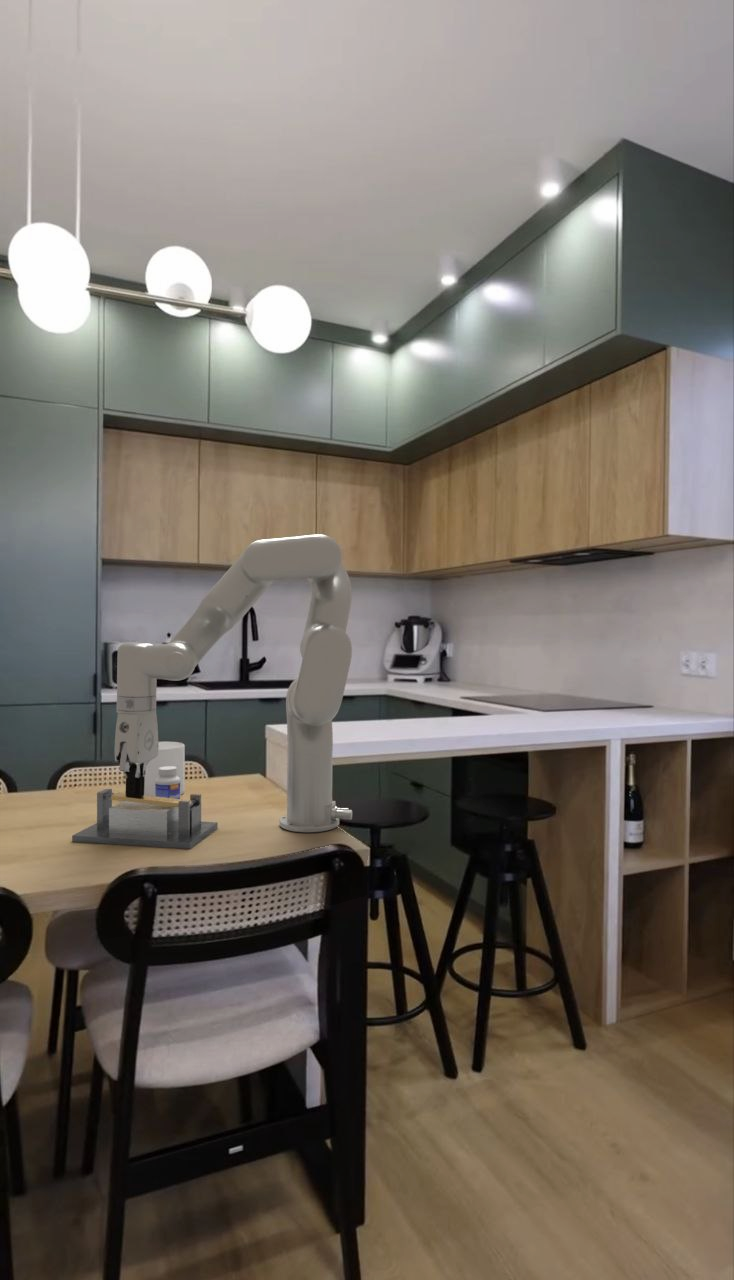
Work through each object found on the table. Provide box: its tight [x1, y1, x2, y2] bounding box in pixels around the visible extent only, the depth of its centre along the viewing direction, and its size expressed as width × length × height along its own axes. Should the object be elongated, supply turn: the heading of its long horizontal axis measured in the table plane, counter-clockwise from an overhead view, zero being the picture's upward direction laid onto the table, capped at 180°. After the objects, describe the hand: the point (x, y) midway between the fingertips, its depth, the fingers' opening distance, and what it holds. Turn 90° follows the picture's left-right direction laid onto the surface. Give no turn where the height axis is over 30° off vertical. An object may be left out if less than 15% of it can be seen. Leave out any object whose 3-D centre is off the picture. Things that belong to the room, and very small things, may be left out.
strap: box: [111, 791, 196, 807], centre depth 143 cm, size 16×4×1 cm, turn 81°
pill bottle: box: [155, 766, 181, 799], centre depth 161 cm, size 5×5×10 cm
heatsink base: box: [71, 788, 219, 850], centre depth 143 cm, size 24×14×8 cm, turn 81°
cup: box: [144, 741, 186, 796], centre depth 178 cm, size 12×12×12 cm
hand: (134, 796), depth 143 cm, fingers closed
